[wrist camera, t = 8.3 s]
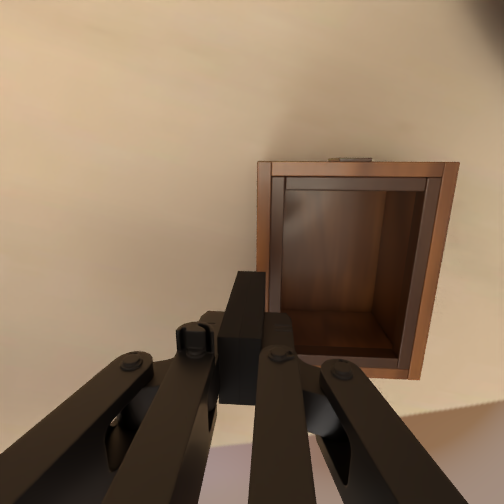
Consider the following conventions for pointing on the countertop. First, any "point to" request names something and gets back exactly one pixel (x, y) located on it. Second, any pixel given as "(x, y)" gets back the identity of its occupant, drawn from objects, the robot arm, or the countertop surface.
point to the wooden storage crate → (355, 256)
